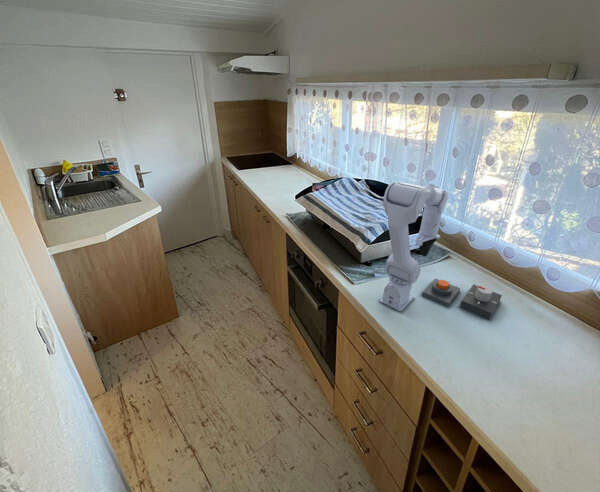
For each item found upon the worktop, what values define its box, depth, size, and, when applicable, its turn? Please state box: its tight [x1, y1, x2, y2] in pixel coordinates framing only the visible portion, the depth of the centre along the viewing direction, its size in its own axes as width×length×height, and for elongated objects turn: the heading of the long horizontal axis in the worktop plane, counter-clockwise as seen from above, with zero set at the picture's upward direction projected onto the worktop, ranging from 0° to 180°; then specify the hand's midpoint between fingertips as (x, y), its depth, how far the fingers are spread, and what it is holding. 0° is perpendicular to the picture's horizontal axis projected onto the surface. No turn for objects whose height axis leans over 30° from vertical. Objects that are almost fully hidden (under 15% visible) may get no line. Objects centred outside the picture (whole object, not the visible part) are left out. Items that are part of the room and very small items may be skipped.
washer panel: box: [459, 284, 502, 321], centre depth 103 cm, size 12×9×3 cm
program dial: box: [475, 284, 494, 302], centre depth 101 cm, size 4×4×4 cm
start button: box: [437, 279, 450, 290], centre depth 107 cm, size 4×4×2 cm
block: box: [421, 277, 461, 308], centre depth 108 cm, size 11×9×4 cm
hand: (423, 254), depth 113 cm, fingers closed
